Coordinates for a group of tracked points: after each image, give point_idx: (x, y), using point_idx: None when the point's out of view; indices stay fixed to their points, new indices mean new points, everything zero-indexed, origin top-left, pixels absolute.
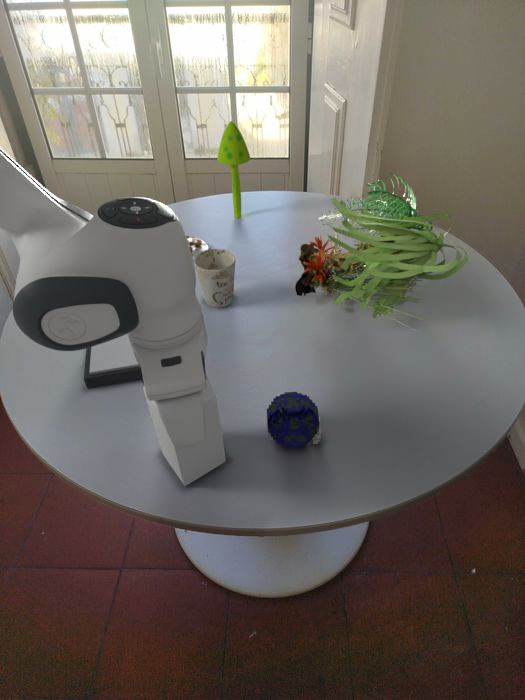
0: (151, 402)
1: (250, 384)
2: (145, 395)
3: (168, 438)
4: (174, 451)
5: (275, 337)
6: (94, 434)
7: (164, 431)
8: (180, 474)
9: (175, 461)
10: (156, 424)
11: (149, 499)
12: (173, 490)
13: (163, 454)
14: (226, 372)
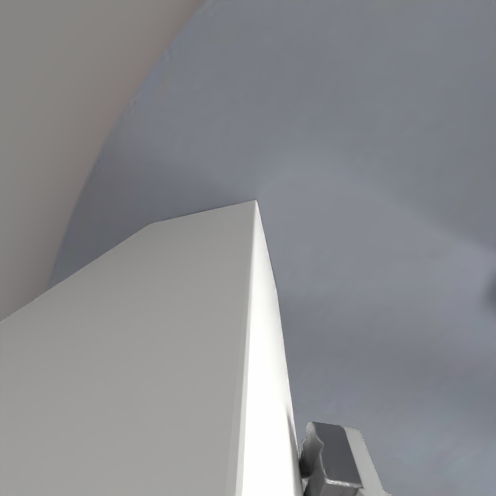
0: (55, 436)
1: (349, 408)
2: (219, 385)
3: (64, 298)
4: (68, 279)
5: (438, 480)
6: (427, 14)
7: (85, 301)
8: (138, 233)
9: (131, 244)
10: (202, 258)
11: (142, 137)
12: (150, 197)
13: (245, 203)
14: (411, 385)
